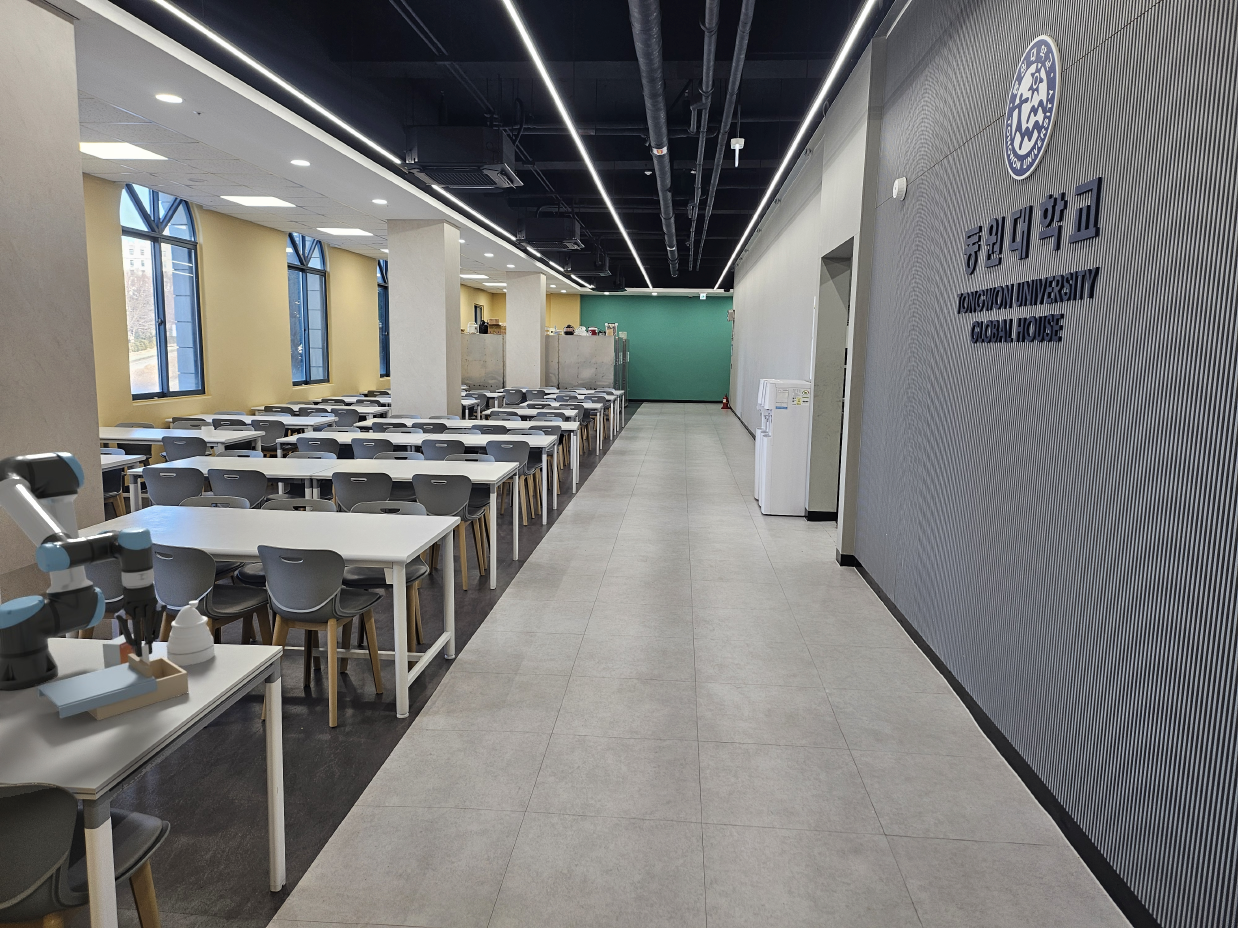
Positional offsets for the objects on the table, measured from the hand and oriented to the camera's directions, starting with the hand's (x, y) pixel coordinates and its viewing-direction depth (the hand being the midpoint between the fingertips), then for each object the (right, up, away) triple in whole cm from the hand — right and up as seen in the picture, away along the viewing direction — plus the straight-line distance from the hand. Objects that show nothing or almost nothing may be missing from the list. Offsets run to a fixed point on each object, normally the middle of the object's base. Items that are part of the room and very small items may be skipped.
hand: (145, 666), depth 215 cm
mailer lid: (-7, -5, -8) cm, 12 cm away
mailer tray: (-2, -8, -2) cm, 8 cm away
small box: (-15, -6, +14) cm, 21 cm away
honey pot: (-2, -4, +27) cm, 27 cm away
